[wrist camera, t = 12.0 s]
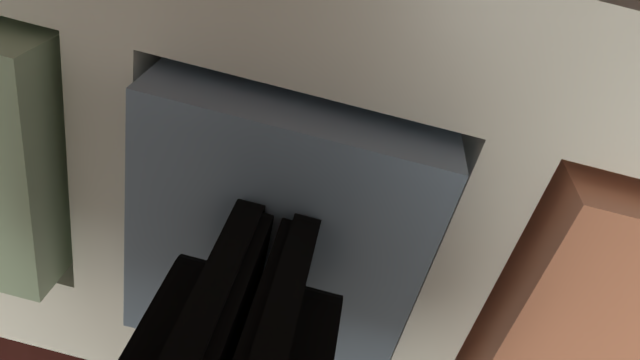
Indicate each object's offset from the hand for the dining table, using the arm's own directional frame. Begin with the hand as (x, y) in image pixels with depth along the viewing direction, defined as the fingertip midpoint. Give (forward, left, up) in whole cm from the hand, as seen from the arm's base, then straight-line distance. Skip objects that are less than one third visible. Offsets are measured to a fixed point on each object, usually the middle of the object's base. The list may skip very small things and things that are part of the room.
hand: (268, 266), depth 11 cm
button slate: (0, 0, -3) cm, 3 cm away
